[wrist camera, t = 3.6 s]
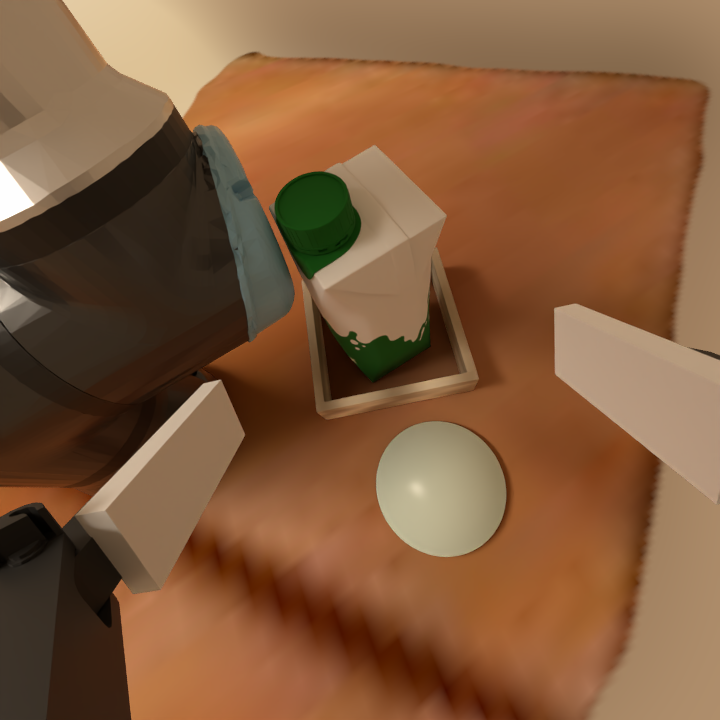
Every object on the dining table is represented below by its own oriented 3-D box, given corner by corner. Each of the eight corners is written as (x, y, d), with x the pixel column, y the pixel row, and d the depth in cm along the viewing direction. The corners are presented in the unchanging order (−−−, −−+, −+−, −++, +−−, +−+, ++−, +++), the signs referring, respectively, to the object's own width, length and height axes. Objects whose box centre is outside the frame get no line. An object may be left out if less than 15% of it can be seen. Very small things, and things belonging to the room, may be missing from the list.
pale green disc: (389, 565, 28) (389, 566, 28) (367, 434, 32) (366, 433, 32) (523, 544, 27) (525, 545, 27) (482, 412, 31) (483, 410, 31)
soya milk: (328, 331, 37) (239, 175, 19) (397, 289, 38) (375, 96, 19) (369, 395, 34) (309, 280, 15) (444, 348, 34) (472, 181, 16)
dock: (326, 419, 34) (316, 412, 30) (311, 297, 39) (301, 280, 36) (473, 390, 32) (479, 378, 29) (435, 268, 38) (437, 247, 35)
